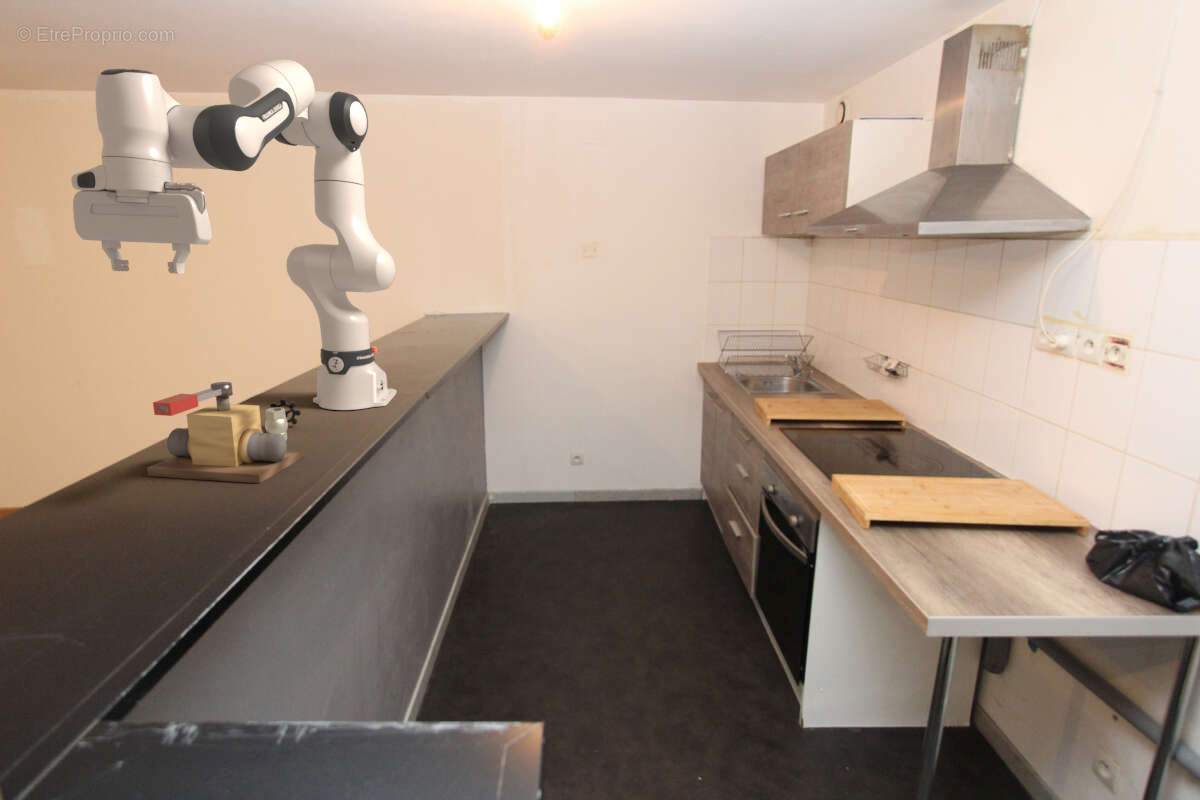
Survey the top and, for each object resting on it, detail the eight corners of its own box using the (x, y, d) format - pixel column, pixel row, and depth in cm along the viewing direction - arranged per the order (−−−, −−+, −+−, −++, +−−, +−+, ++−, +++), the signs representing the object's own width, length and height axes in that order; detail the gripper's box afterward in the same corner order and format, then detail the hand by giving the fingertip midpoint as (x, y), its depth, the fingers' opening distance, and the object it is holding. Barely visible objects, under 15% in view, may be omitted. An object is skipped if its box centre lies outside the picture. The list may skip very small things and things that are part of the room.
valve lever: (219, 392, 114) (218, 381, 114) (236, 393, 114) (235, 382, 113) (153, 414, 99) (151, 402, 98) (172, 415, 99) (171, 403, 98)
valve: (293, 442, 130) (302, 426, 141) (291, 411, 129) (299, 397, 140) (257, 444, 128) (269, 428, 139) (254, 412, 127) (266, 398, 138)
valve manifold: (203, 450, 123) (196, 385, 120) (303, 456, 122) (298, 391, 119) (148, 476, 109) (137, 403, 106) (259, 483, 108) (252, 410, 105)
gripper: (217, 186, 101) (224, 274, 104) (95, 182, 103) (105, 269, 106) (189, 180, 95) (197, 275, 98) (60, 176, 97) (71, 269, 99)
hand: (148, 272), depth 102 cm, fingers open, 8 cm apart
